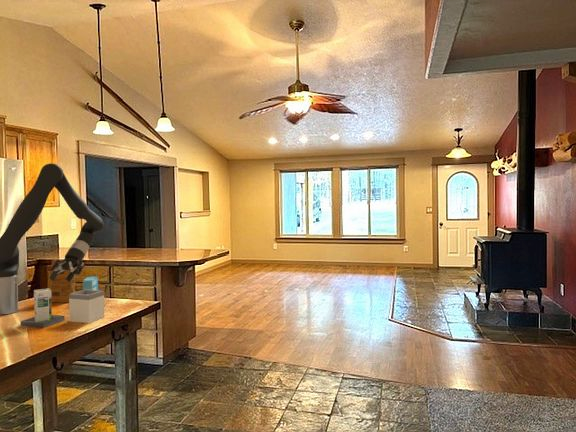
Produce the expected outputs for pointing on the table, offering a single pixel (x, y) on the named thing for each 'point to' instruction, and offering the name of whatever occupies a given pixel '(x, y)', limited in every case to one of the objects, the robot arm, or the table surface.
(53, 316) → the lower collar
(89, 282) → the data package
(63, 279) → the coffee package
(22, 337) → the table surface
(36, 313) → the syrup box
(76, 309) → the raised dock
